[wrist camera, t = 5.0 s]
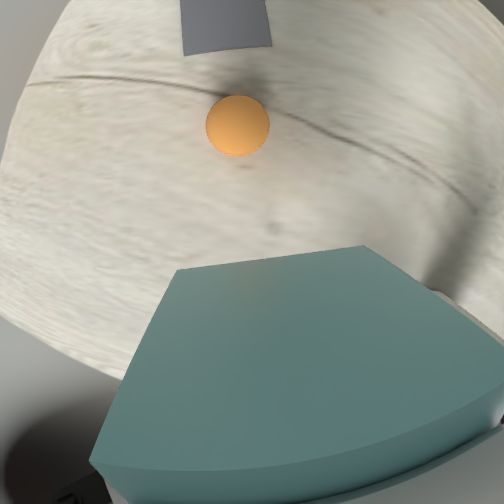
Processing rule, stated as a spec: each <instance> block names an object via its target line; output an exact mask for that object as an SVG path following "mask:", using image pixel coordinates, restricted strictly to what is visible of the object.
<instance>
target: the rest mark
mask: <svg viewBox="0 0 504 504" xmlns="http://www.w3.org/2000/svg"><path fill="white" fill-rule="evenodd" d="M180 6H181V23H182V38H183V51H184V56H189V55H194V54H200V53H207V52H214V51H221V50H229V49H239V48H250V47H265V46H272V43H271V37H270V31H269V26H268V20H267V14H266V9H265V3H264V0H180Z"/></svg>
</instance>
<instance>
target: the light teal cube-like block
mask: <svg viewBox="0 0 504 504" xmlns="http://www.w3.org/2000/svg"><path fill="white" fill-rule="evenodd" d="M503 414H504V347H503V346H502V345H501V344H500V343H499V342H497V341H496V340H495V339H494V338H493V337H491V336H490V335H489V334H488V333H486V332H485V331H484V330H483V329H481V328H480V327H479V326H477V325H476V324H475V323H474V322H472V321H471V320H470V319H468V318H467V317H466V316H465V315H463V314H462V313H461V312H459V311H458V310H457V309H455V308H454V307H453V306H451V305H450V304H449V303H447V302H446V301H444V300H443V299H442V298H440V297H439V296H438V295H436V294H435V293H433V292H432V291H431V290H429V289H428V288H427V287H425V286H424V285H422V284H421V283H419V282H418V281H417V280H415V279H414V278H412V277H411V276H409V275H408V274H407V273H405V272H404V271H402V270H401V269H399V268H398V267H396V266H395V265H393V264H392V263H390V262H389V261H387V260H386V259H384V258H383V257H381V256H380V255H378V254H377V253H375V252H374V251H372V250H371V249H369V248H368V247H366V246H364V245H363V246H356V247H349V248H341V249H334V250H327V251H319V252H312V253H305V254H297V255H290V256H282V257H274V258H267V259H259V260H251V261H244V262H236V263H228V264H220V265H213V266H205V267H197V268H189V269H181V270H177V271H176V273H175V275H174V277H173V279H172V280H171V282H170V284H169V286H168V288H167V290H166V292H165V294H164V296H163V298H162V300H161V302H160V304H159V306H158V307H157V309H156V311H155V313H154V315H153V317H152V319H151V321H150V323H149V325H148V327H147V329H146V332H145V334H144V336H143V338H142V340H141V342H140V344H139V346H138V348H137V350H136V352H135V354H134V357H133V359H132V361H131V363H130V365H129V367H128V369H127V372H126V374H125V376H124V378H123V380H122V383H121V385H120V387H119V389H118V392H117V394H116V396H115V398H114V401H113V403H112V405H111V408H110V410H109V412H108V415H107V417H106V419H105V422H104V424H103V426H102V429H101V431H100V434H99V436H98V439H97V441H96V444H95V446H94V449H93V452H92V454H91V457H90V459H89V462H90V463H91V464H92V465H93V466H94V467H95V469H96V470H97V471H98V472H99V473H100V474H101V475H102V476H103V478H104V479H105V480H106V481H107V482H108V483H109V484H110V485H111V486H112V487H113V488H114V489H115V490H116V491H117V492H118V493H119V494H120V495H121V496H122V497H123V498H124V499H125V500H126V501H127V502H128V503H129V504H298V503H303V502H309V501H314V500H318V499H323V498H327V497H331V496H335V495H339V494H343V493H347V492H350V491H354V490H357V489H361V488H364V487H367V486H370V485H373V484H376V483H379V482H382V481H385V480H387V479H390V478H393V477H395V476H398V475H401V474H403V473H406V472H408V471H410V470H413V469H415V468H417V467H420V466H422V465H424V464H426V463H429V462H431V461H433V460H435V459H437V458H439V457H441V456H443V455H445V454H447V453H449V452H451V451H453V450H455V449H457V448H458V447H460V446H462V445H464V444H466V443H468V442H469V441H471V440H473V439H475V438H476V437H478V436H480V435H482V434H484V433H485V432H487V431H489V430H491V429H493V428H495V427H496V426H497V425H498V423H499V421H500V419H501V418H502V416H503Z"/></svg>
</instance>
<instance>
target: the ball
mask: <svg viewBox="0 0 504 504" xmlns="http://www.w3.org/2000/svg"><path fill="white" fill-rule="evenodd" d="M268 132H269V118H268V115H267V113H266V111H265V109H264V108H263V106H262V105H261V104H260V103H259V102H257V101H256V100H254V99H253V98H250V97H248V96H243V95H232V96H228V97H225V98H223V99H221V100H220V101H218V102H217V103H216V104H215V105H214V106H213V107H212V108H211V110H210V111H209V113H208V116H207V119H206V133H207V136H208V138H209V140H210V142H211V143H212V145H213V146H214V147H215V148H217V149H218V150H219V151H221V152H223V153H225V154H228V155H232V156H242V155H247V154H250V153H252V152H254V151H255V150H257V149H258V148H259V147H260V146H261V145H262V144H263V143H264V141H265V140H266V138H267V135H268Z"/></svg>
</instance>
